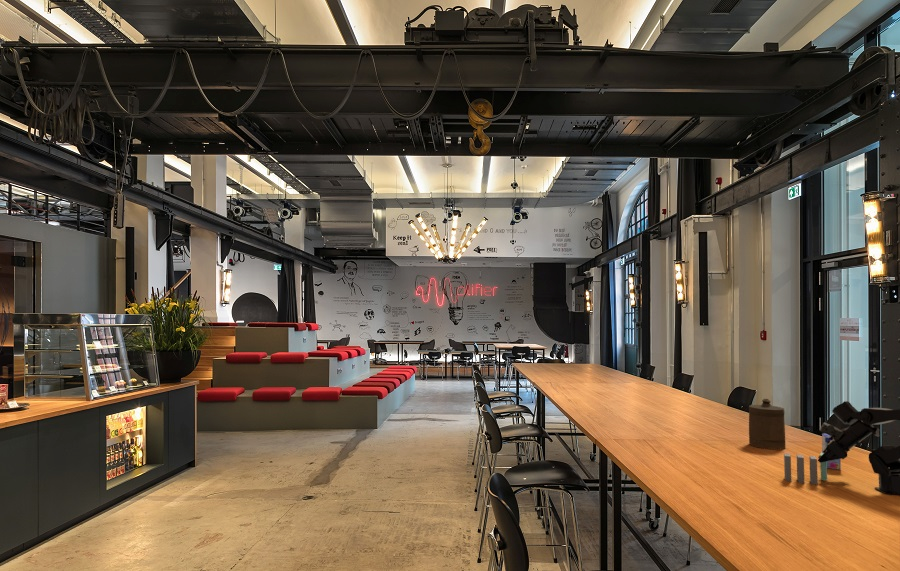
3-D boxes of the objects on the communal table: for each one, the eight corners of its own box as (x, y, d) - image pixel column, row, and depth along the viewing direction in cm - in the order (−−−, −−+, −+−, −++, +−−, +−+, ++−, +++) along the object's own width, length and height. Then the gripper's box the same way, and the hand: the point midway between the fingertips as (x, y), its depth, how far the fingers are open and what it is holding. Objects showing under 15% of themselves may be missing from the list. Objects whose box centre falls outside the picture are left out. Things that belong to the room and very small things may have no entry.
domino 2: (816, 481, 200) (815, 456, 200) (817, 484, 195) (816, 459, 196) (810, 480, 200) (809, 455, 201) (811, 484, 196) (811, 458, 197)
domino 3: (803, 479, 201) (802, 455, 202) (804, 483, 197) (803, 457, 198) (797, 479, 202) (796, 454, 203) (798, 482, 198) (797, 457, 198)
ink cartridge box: (842, 470, 216) (840, 432, 217) (825, 468, 218) (824, 431, 219) (838, 464, 224) (836, 428, 225) (821, 462, 227) (820, 427, 228)
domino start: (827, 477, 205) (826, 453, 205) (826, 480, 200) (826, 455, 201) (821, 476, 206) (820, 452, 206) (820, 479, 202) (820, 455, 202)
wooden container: (785, 445, 259) (784, 398, 261) (785, 451, 247) (784, 402, 248) (750, 441, 267) (749, 395, 269) (748, 447, 255) (747, 399, 256)
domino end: (790, 478, 203) (789, 453, 204) (791, 481, 199) (790, 456, 200) (784, 477, 204) (784, 453, 205) (785, 480, 200) (785, 455, 200)
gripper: (835, 413, 210) (801, 438, 216) (834, 419, 195) (798, 446, 200) (861, 436, 205) (826, 461, 210) (863, 445, 190) (825, 472, 195)
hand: (818, 460), depth 204 cm, fingers closed on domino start, 5 cm apart
